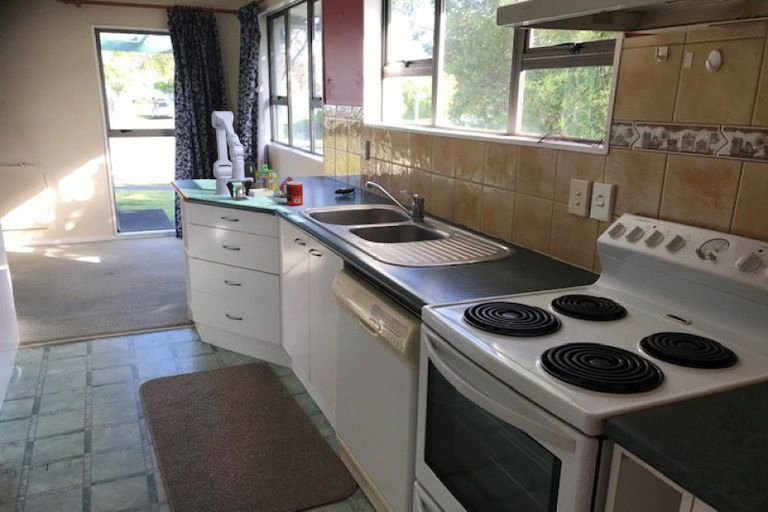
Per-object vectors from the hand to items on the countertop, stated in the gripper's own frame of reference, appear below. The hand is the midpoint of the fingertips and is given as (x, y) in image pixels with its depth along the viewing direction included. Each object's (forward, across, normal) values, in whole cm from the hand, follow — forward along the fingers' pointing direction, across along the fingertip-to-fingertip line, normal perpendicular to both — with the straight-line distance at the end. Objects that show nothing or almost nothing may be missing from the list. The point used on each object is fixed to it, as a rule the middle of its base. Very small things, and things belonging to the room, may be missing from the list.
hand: (239, 196), depth 293 cm
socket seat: (+2, 0, 0) cm, 2 cm away
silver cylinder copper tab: (+1, 0, 0) cm, 1 cm away
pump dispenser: (+2, +21, +41) cm, 46 cm away
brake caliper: (+2, +26, -2) cm, 27 cm away
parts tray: (+2, +15, +10) cm, 18 cm away
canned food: (+2, +19, -25) cm, 31 cm away
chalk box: (+2, +25, +25) cm, 35 cm away
